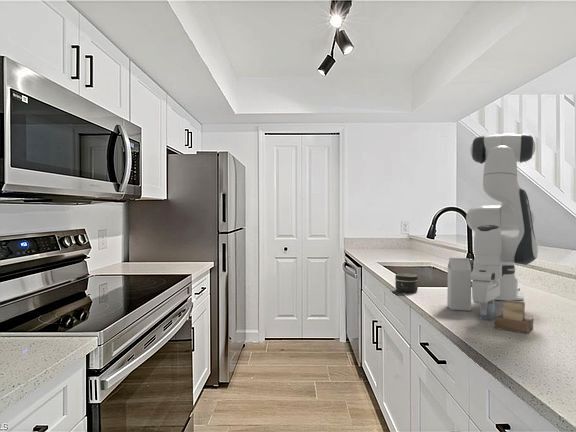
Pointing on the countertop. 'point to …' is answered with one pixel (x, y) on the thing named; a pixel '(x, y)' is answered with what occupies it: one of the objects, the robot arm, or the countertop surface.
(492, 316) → the ceramic cylinder
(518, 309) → the oak cube
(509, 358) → the countertop surface
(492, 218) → the robot arm
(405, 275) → the jar
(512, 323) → the walnut pedestal
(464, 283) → the milk carton
